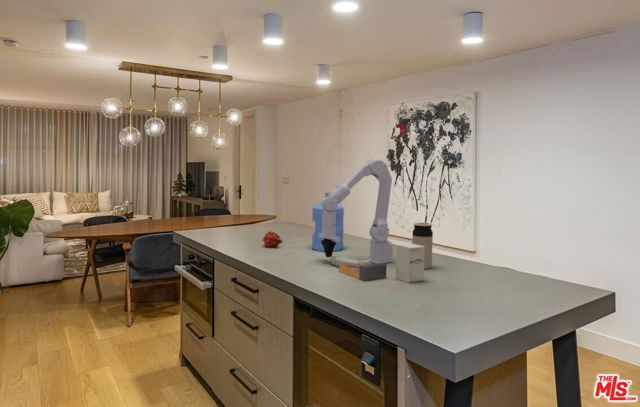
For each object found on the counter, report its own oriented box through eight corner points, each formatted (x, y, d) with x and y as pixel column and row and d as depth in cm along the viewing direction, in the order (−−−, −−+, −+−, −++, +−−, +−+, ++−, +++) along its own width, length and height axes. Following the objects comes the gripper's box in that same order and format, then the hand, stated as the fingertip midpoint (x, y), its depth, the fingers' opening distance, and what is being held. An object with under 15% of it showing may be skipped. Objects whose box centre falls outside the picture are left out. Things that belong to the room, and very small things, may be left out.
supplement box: (408, 283, 153) (409, 247, 152) (395, 278, 159) (396, 244, 158) (424, 280, 156) (425, 246, 155) (411, 276, 163) (411, 243, 162)
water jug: (348, 248, 220) (349, 192, 217) (333, 253, 206) (333, 194, 204) (322, 245, 228) (323, 191, 226) (305, 249, 215) (306, 193, 213)
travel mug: (435, 267, 178) (436, 223, 177) (425, 270, 172) (426, 225, 171) (418, 264, 184) (419, 222, 182) (407, 267, 178) (409, 223, 176)
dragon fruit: (267, 247, 228) (278, 254, 218) (256, 239, 223) (267, 246, 213) (276, 234, 229) (288, 240, 220) (265, 226, 224) (277, 232, 215)
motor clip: (359, 268, 175) (359, 256, 174) (386, 277, 160) (386, 264, 160) (338, 271, 170) (338, 258, 169) (364, 281, 155) (364, 267, 155)
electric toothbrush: (339, 255, 183) (374, 257, 161) (340, 271, 183) (376, 275, 161) (328, 256, 180) (363, 259, 159) (329, 272, 180) (364, 277, 158)
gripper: (312, 223, 188) (312, 254, 189) (330, 227, 176) (329, 260, 177) (326, 222, 192) (326, 253, 193) (344, 226, 179) (344, 259, 181)
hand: (328, 256), depth 185 cm, fingers closed
